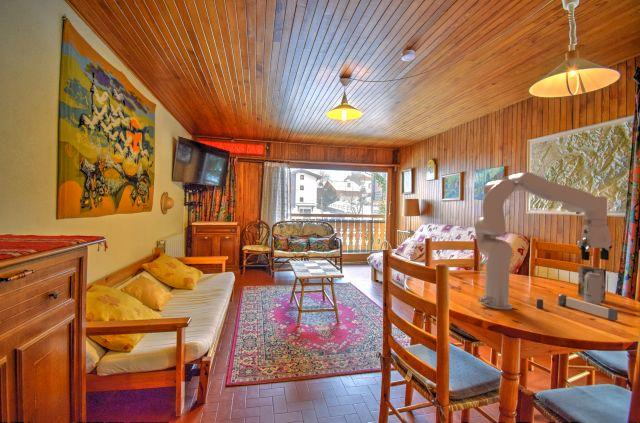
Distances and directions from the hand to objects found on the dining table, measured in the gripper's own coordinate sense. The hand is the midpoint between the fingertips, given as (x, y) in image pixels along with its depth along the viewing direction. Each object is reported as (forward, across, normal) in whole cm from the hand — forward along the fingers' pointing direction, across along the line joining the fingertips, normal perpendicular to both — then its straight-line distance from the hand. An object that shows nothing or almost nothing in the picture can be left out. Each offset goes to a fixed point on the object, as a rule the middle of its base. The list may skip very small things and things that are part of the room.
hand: (594, 259), depth 131 cm
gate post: (+23, -10, +6) cm, 26 cm away
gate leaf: (+23, -8, -5) cm, 24 cm away
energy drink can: (+24, +8, +8) cm, 26 cm away
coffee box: (+24, +16, +16) cm, 33 cm away
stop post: (+23, -25, +3) cm, 34 cm away
